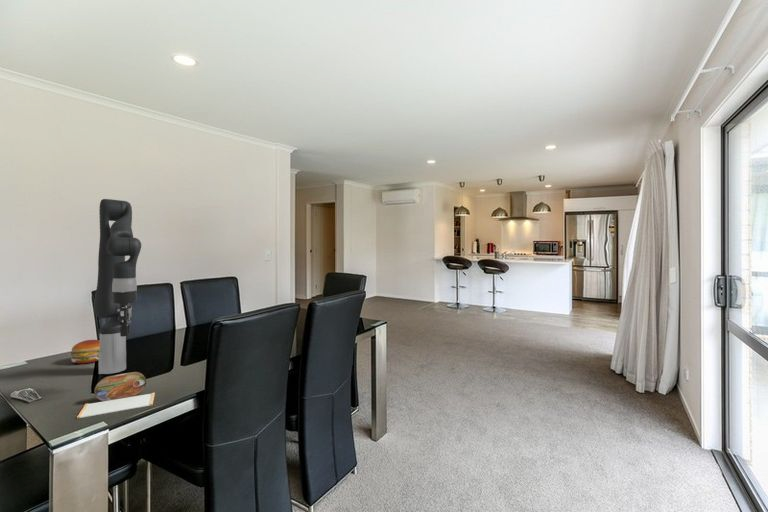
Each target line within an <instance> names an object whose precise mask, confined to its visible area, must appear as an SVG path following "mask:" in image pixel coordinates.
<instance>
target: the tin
mask: <svg viewBox="0 0 768 512" xmlns="http://www.w3.org/2000/svg"><path fill="white" fill-rule="evenodd" d="M146 386H147V378H146V376H145V375H144V374H143V373H141V372H138V371H132V372H126V373H120V374H114V375H109V376H105V377H103V378H102V379H101V380H99V381H98V382H97V384H96V385H95V387H94V391H93V392H94V393H93V394H94V396H95V397H96V399H97V400H99V401H100V402H103V401H109V400H115V399H122V398H128V397H134V396H138V395H140V393H141V392H143V391H144V390H145V388H146Z"/></svg>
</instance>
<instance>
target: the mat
mask: <svg viewBox="0 0 768 512" xmlns="http://www.w3.org/2000/svg"><path fill="white" fill-rule="evenodd" d="M155 396H156V392H151V393H147V394H141V395H140V394H139V395H135V396H130V397H125V398H121V399H115V400H109V401H97V402H92V403H91V402H90V403H88V402H87V403H84V405H83V408H82V409H81V410H80V412H79V414H78V415H77V416H76V419H78V420H79V419H81V418H87V417H93V416H99V415H103V414H104V415H105V414H110V413H117V412H121V411H127V410H132V409H134V410H135V409H139V408H144V407H150V406H153V404H154V399H155Z"/></svg>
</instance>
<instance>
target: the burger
mask: <svg viewBox="0 0 768 512" xmlns="http://www.w3.org/2000/svg"><path fill="white" fill-rule="evenodd" d="M99 351H100V339H99V340H98V339H86V340H83V341H80V342H78V343H76V344H74V346H72V348H71V352H70V354H71V359H70V360H71V362H72V363H74V364H89V363H94V362H99V357H98V353H99Z"/></svg>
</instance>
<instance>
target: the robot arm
mask: <svg viewBox="0 0 768 512" xmlns="http://www.w3.org/2000/svg"><path fill="white" fill-rule="evenodd" d="M132 207H133V206H132V205H131V203H130V202H129V201H126V200H120V199H113V198H103V199H101V200H100V202H99V207H98V208H99V209H98V210H99V244H98V245H99V246H98V258H97V259H98V260H97V267H98V268H97V283H96V290H95V296H94V302H93V303H94V304H93V311H94V314H95V316H96V317H98V318H99V319H106V318H107V319H108V318H109V319H108V321H107V322H105V323H104V324H102V325H101V326H100V327H99V332H98V333H99V340H100V351H99V353H98V357H99V360H98V375H111V374H115V373H121V372H123V371H125V370H127V337H128V336H129V334H130V332H131V331H130V330H131V327H130V326H131V325H130V324H131V320H132V310H133V306H132V305H130V304H132V303H136V302H137V301H138V292H137V291H138V290H137V288H138V284H137V271H136V270H137V263H138V259H139V255H140V253H141V250H142V242H141V240H140V239H139V238H137V237H134V234H133V229H132V224H133V210H132V209H133V208H132ZM109 222H113V223H112V224H111V225H110V223H109ZM128 256H129V258H128V259H127V260H126V257H128Z"/></svg>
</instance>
